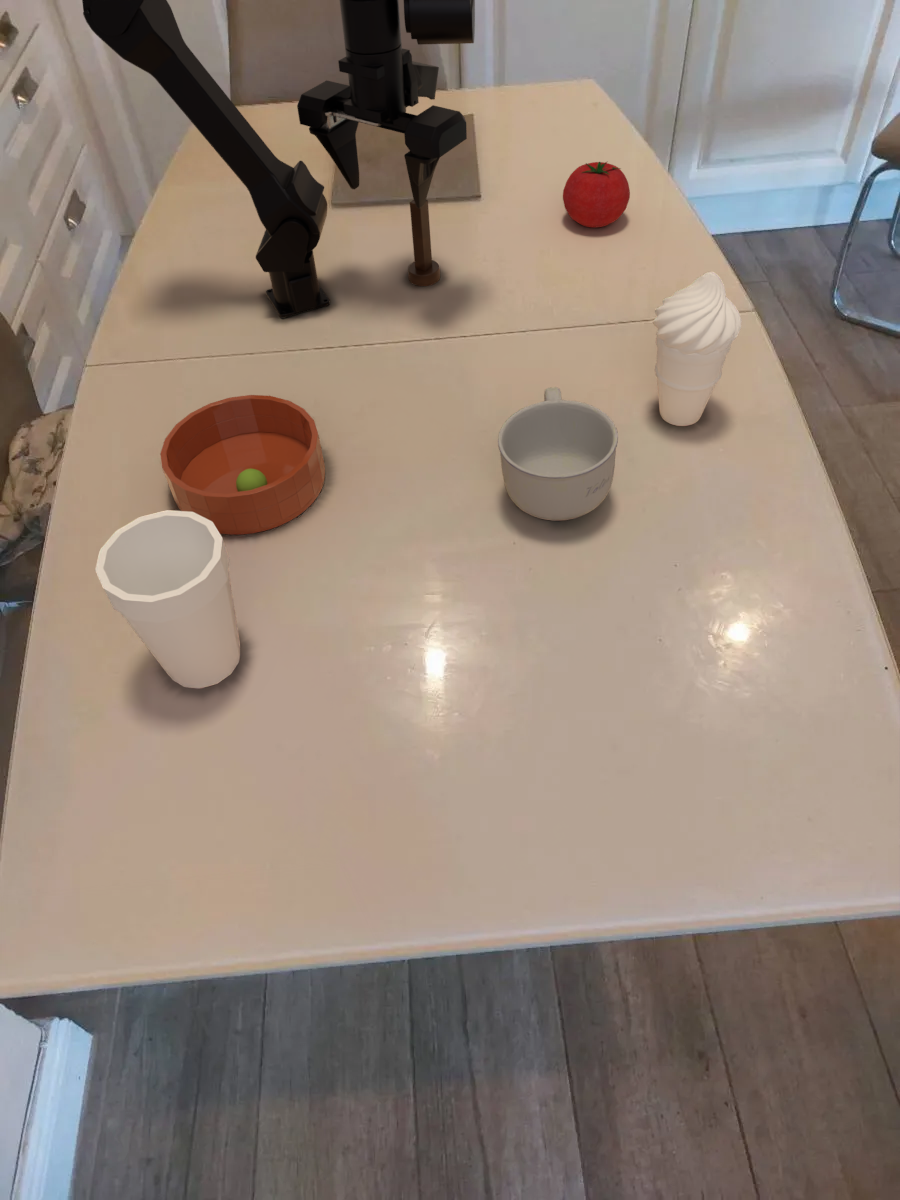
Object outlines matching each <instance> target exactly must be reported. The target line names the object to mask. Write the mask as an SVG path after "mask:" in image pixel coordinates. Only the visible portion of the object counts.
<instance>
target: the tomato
mask: <svg viewBox="0 0 900 1200" xmlns="http://www.w3.org/2000/svg"><path fill="white" fill-rule="evenodd" d="M608 162H609V161H606V162H603V161H594V162H588V163H587V162H585V164H581V165H579V166H578V167H576V169H574V170H573V171H572V172H571V173H570V175H569V177H568V178H567V180H566V182H565V185H564V187H563V190H562V191H563V192H562V201H563V205H564V209H565V212H566V213H567V214H568V215H569V217H570V219H572V220H573V221H574V222H576V223H578V224H579V225H582V226H583V227H586V228H602V227H606V226H608V225H610V224H612V223H614V222H615V221H617V220H618V219H620V217H621V216H622V215H623V213H624V212H625V211H626V209H627V207H628V205H629V202H630V198H631V191H630V185H629V181H628V180H627V179H628V178H627V177H626V175H625V173H624V172H623V171H622V170H621V169H622V168H621V167H618V166H616V165H614V164H611V163H608Z"/></svg>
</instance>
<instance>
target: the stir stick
mask: <svg viewBox="0 0 900 1200" xmlns="http://www.w3.org/2000/svg"><path fill="white" fill-rule="evenodd" d="M409 209H410V210H409V211H410V222H411V223H410V225H411V234H412V237H411V238H412V243H413V244H412V246H413V248H412V249H413V260H414V261H412V262H411V263H410V264H409V265H408V266H407V273H408V280H409V282H410V283H411V284H412V285H414V286H419V287H429V286H433V285H435V284H437V283H438V282H439V281H440V279H441V270H440V269H441V268H440V267H441V266H440V264H439V262H437V261H435V260H433V258H432V243H431V241H432V240H431V227H430V225H431V224H430V212H429V211H430V209H429V200H428V199H426V201H425V204H424V206H422V207H421V208H417V207H416V205H415V202H414V199H412V200H411V201H410V202H409Z"/></svg>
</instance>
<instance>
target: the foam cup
mask: <svg viewBox="0 0 900 1200" xmlns="http://www.w3.org/2000/svg"><path fill="white" fill-rule="evenodd" d="M230 560H231V559H230V556H229V553H228V550H227V547H226V545H225V541H224V538H223V536H222V534H221V533H219V532H218V530H217V528H216V527H215V525H214V523H213V522H212V521H210V520H208V519H206V518H204V517H202V516H200V515H198V514H196V513H194V512H188V511H180V510H170V509H166V510H162V511H158V512H154V513H149V514H145V515H141V516H138V517H136V518H135V519H133V520H132V521H130V522H128V523H127V524H124V525H123V526H122V527H120V528H118V529H116V530H115V531H114V532H113V533H112V535H111V536H110V537H109V538H108V539H107V541H106V542H105V543H104V544H103V545H102V547H101V548H100V549H99V552H98V557H97V560H96V564H95V569H94V571H95V574H96V575H97V578H98V580H99V582H100V585H101V587H102V588H103V591H104V593H105V595H106V596H107V599H108V600H109V602H110V604H111V606H112V608H113V610H115V611H117V612H118V613H120V615H121V616H122V617H123V618H124V619H125V621H126V622H127V623H128V625H129V626H130V627H131V629H132V630H133V631H134V633H135V634H136V635H137V637H138V638H139V639H140V641H141V642H142V643H143V644H144V645H145V647H146V648H147V650H148V651H149V652H150V653H151V655H152V656H153V658H155V660H156V661H157V662H158V664H159V665H160V666H161V668H162V669H163V670H164V672H165V673H166V674H167V675H168V677H170V678H171V680H172V681H173V682H175V683H176V684H178V685H180V686H181V687H184V688H189V689H205V688H207V687H211V686H214V685H217V684H219V683H221V682H222V681H223V680H225V679H226V678H228V677H229V676H230V675H232V674H233V672H234V670H235V669H236V667H237V666H238V665H239V663H240V658H241V641H240V634H239V628H238V621H237V616H236V615H237V614H236V609H235V602H234V601H235V600H234V595H233V589H232V583H231V582H232V581H231V576H230V575H231V574H230Z"/></svg>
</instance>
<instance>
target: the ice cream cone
mask: <svg viewBox="0 0 900 1200" xmlns="http://www.w3.org/2000/svg"><path fill="white" fill-rule="evenodd" d="M726 291H727V290H726V286H725V284H724V282H723V279H722V278H721V277H720V275H719V274H717V272H715V271H707V272H704V273H703V274H702V275H700V276H698V277H696V278H695V279H694V281H693V282H692V283H690V284H689V285H687V286H686V287H684V288H681V289H678V290H676V291H674V292H673V294H672V295H671V296H666V297H664V298H663V299H662V305H660V306H658V307H656V308H655V309H654V313H655V316H656V317H655V318H654V319H653V320H652V324H653V326H654V327H655V328H656V329H657V331H656V334H655V335H656V337H655V346H656V357H655V359H656V360H655V361H656V362H655V365H654V374H655V376H656V386H657V396H658V409H659V415H660V417H661V418H662V420H664V422H666V423H667V424H670V425H673V426H677V427H687V426H692V425H695V424H696V423H697V422H698V421H700V419H701V418H702V415H703V413H704V411H705V409H706V407H707V404H708V402H709V400H710V398H711V396H712V394H713V391H714V389H715V387H716V385H717V384H718V383H719V382H720V380H721V378H722V374H723V373H722V371H723V367H724V364H725V362H726V358H727V355H728V354H729V353H730V350H731V349H732V348H731V347H732V344H733V343H734V342H735V340H736V339H737V338H738V335H739V333H740V331H741V329H742V317H741V313H740V311H739V310H738V308H737V306H736V305H735V303H734V302H733V301H732V300H731V299H730V298H729V297H727V292H726Z"/></svg>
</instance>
